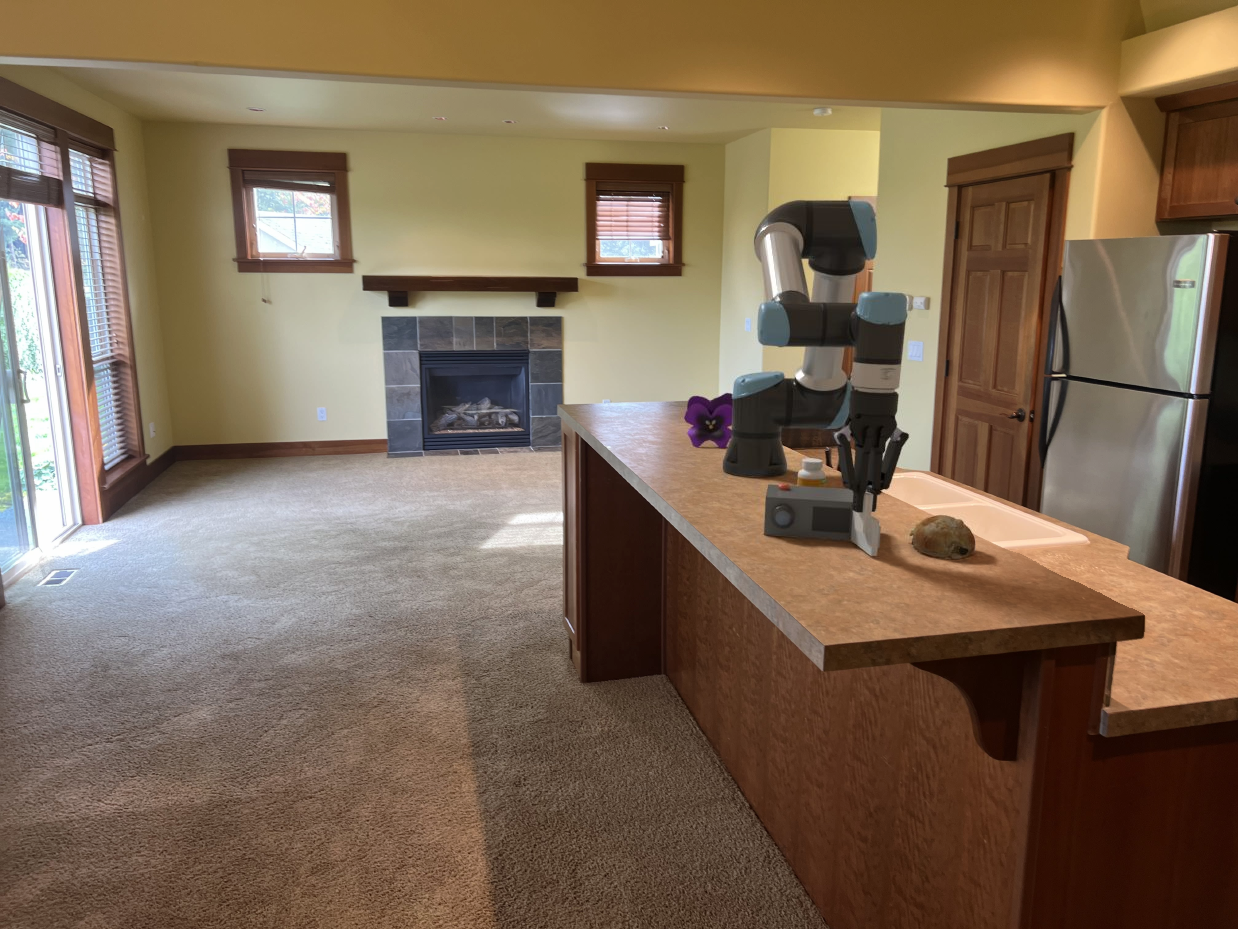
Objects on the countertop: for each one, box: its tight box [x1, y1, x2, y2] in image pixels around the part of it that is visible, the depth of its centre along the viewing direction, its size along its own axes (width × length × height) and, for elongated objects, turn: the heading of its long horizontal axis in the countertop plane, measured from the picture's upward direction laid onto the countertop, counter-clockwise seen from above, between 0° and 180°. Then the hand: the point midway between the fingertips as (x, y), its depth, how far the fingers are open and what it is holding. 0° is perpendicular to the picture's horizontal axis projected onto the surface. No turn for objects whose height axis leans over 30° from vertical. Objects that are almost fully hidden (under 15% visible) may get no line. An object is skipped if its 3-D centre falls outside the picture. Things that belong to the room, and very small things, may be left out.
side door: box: [850, 511, 882, 557], centre depth 150 cm, size 2×10×6 cm, turn 6°
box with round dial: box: [763, 483, 853, 542], centre depth 161 cm, size 12×16×8 cm
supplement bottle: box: [796, 457, 827, 488], centre depth 177 cm, size 5×5×10 cm
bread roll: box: [908, 514, 976, 560], centre depth 150 cm, size 10×10×8 cm
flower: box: [683, 392, 733, 449], centre depth 246 cm, size 15×15×14 cm
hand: (862, 530), depth 148 cm, fingers closed
